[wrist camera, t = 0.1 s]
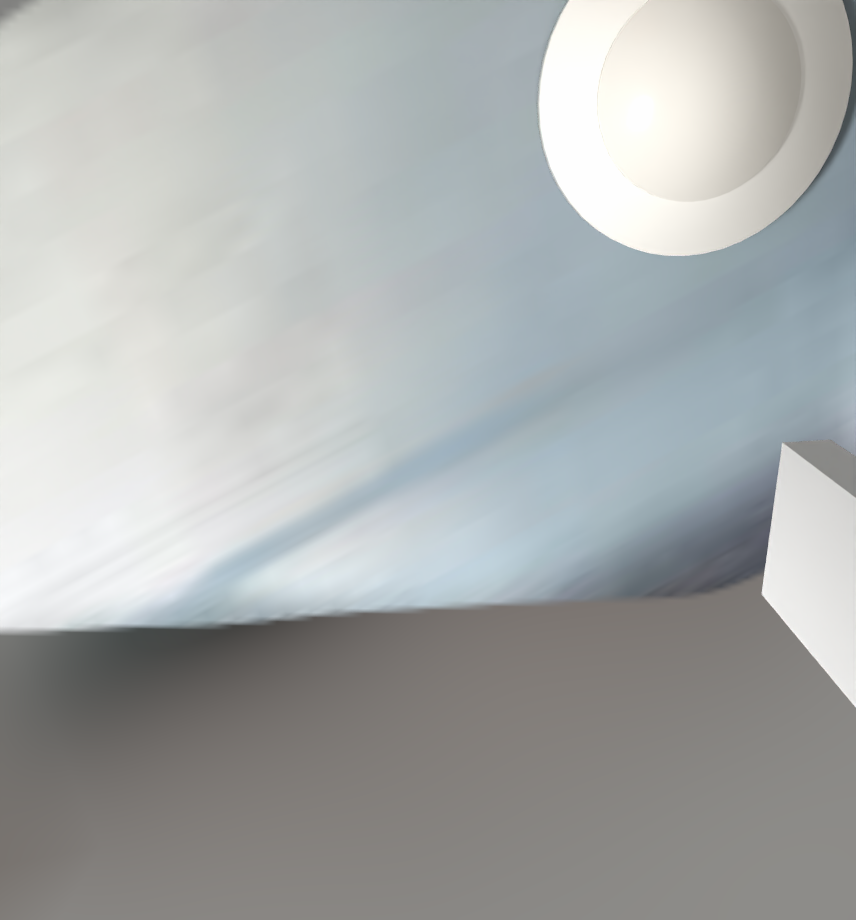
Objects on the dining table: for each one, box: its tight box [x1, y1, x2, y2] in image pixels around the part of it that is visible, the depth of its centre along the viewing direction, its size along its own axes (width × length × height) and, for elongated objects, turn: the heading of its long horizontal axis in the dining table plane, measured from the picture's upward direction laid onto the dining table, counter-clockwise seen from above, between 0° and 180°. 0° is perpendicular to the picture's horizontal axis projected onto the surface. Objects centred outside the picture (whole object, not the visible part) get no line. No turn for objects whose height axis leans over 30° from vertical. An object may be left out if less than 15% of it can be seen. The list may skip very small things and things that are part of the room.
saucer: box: [537, 0, 853, 256], centre depth 35 cm, size 14×14×1 cm
